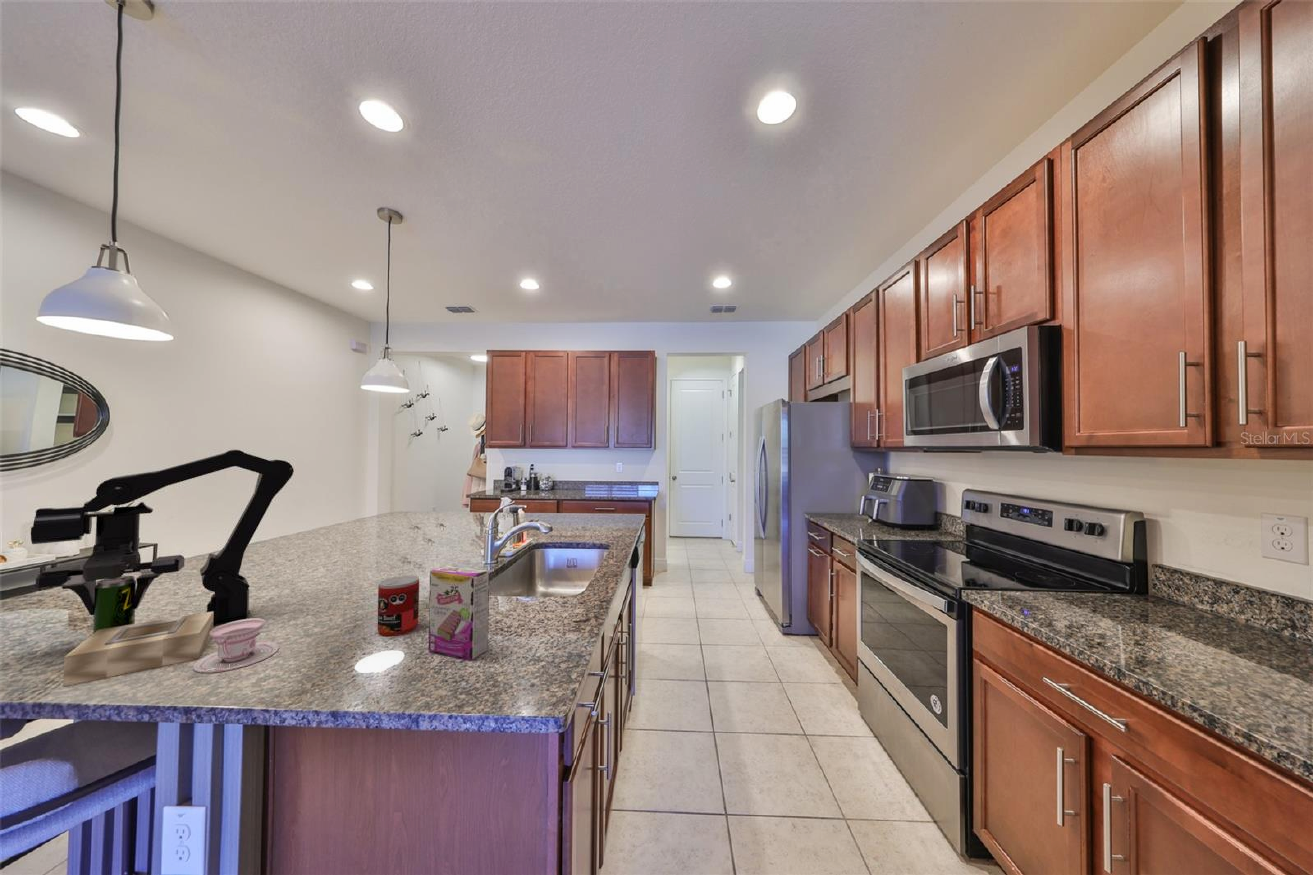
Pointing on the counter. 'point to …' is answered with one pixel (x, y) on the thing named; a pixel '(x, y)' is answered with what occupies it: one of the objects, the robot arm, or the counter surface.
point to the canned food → (398, 605)
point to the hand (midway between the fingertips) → (114, 611)
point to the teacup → (236, 646)
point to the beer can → (114, 603)
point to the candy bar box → (459, 611)
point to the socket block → (138, 647)
